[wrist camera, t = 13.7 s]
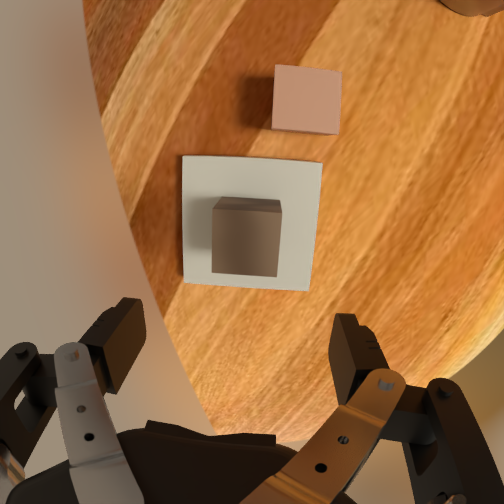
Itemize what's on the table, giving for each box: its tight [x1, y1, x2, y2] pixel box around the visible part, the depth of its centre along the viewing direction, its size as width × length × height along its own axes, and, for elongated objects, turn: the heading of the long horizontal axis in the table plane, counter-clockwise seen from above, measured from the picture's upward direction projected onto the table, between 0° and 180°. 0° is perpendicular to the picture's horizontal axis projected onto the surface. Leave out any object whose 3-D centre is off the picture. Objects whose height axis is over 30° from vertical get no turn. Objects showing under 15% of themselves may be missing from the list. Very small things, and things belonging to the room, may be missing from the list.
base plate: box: [182, 155, 323, 291], centre depth 29 cm, size 12×12×2 cm
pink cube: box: [271, 65, 342, 135], centre depth 23 cm, size 5×5×5 cm
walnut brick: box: [212, 196, 282, 277], centre depth 26 cm, size 5×5×5 cm
